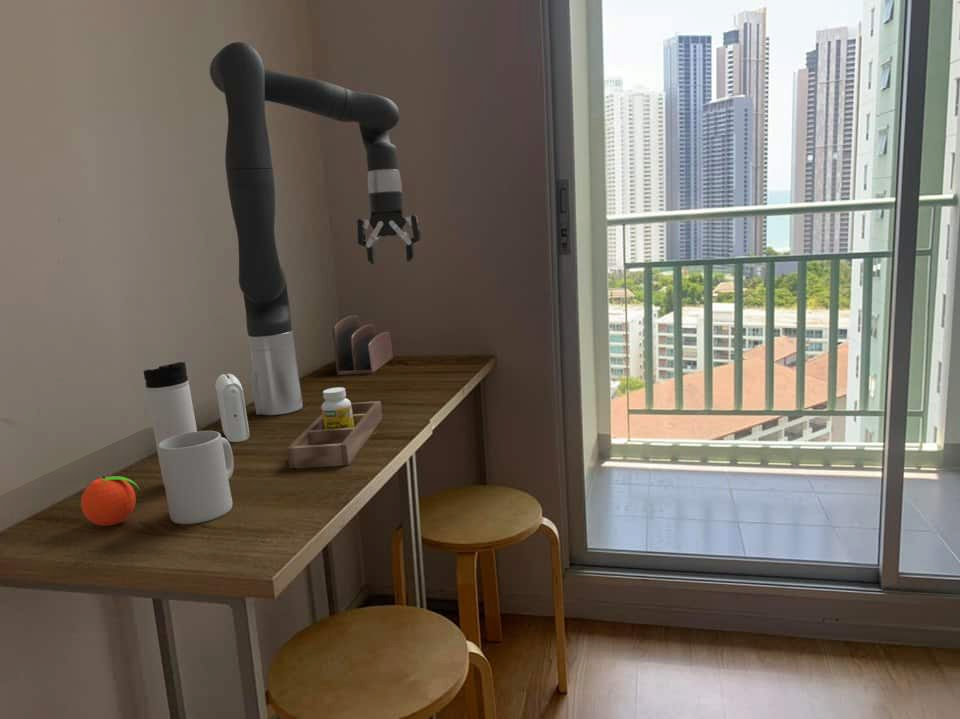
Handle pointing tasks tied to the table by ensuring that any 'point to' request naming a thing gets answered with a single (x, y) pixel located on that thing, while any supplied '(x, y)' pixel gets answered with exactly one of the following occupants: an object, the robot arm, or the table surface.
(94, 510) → the clementine
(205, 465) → the mug
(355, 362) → the letter holder
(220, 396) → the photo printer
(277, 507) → the table surface
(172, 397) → the travel mug
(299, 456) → the compartment tray
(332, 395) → the supplement bottle
